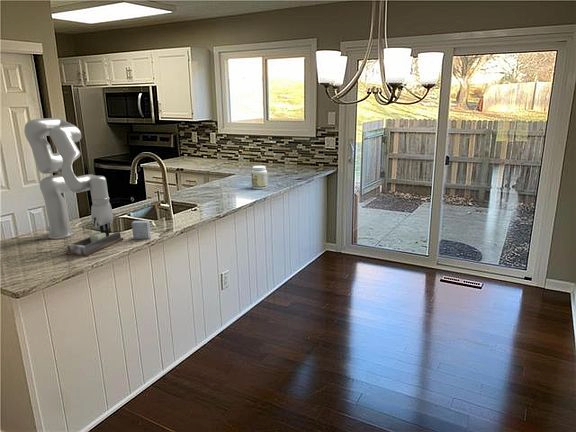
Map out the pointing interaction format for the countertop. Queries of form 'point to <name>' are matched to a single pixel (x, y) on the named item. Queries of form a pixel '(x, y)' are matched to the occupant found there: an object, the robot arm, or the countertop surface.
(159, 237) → the countertop surface
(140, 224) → the medicine box
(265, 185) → the supplement tub
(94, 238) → the block
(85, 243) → the chute
